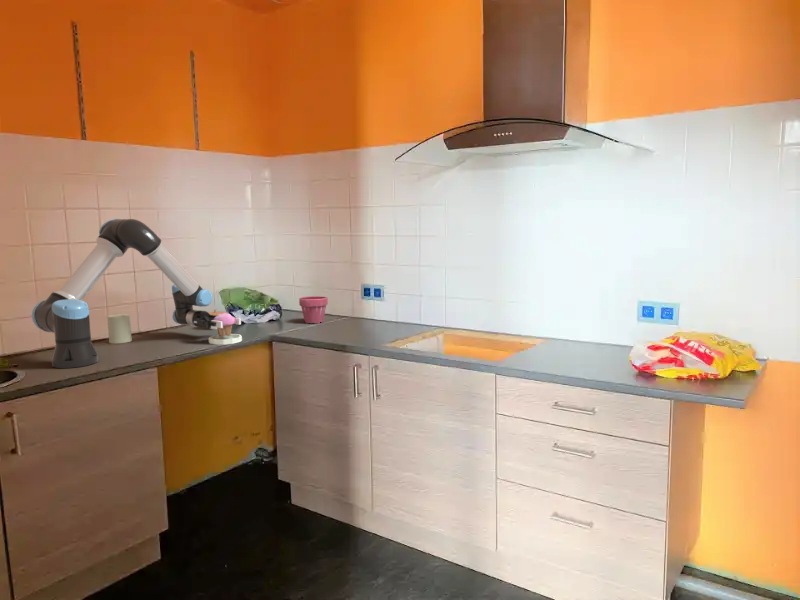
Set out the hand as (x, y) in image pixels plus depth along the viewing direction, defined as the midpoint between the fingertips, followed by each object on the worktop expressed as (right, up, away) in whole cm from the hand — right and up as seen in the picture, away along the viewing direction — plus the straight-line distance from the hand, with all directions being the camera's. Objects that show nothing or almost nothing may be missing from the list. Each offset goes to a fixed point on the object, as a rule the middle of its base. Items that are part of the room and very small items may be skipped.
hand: (231, 323), depth 257 cm
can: (-51, -9, +7) cm, 52 cm away
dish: (-4, -8, +4) cm, 10 cm away
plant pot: (+29, -2, +49) cm, 57 cm away
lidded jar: (-17, -4, +36) cm, 40 cm away
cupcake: (-4, -6, +3) cm, 8 cm away
